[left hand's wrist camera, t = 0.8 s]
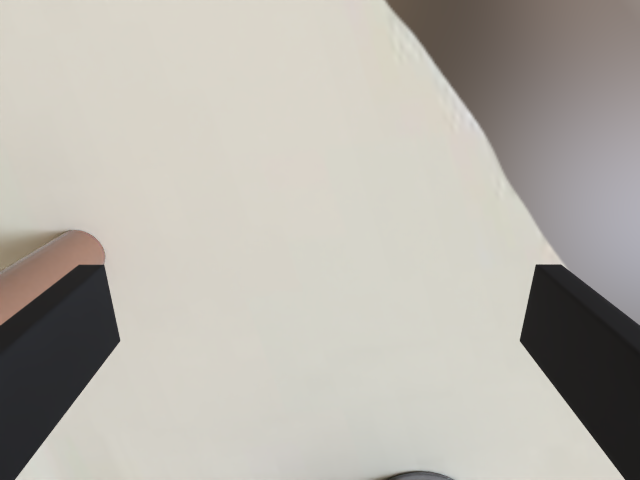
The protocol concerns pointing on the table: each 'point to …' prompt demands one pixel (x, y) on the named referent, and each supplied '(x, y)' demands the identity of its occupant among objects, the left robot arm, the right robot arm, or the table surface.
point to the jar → (45, 269)
